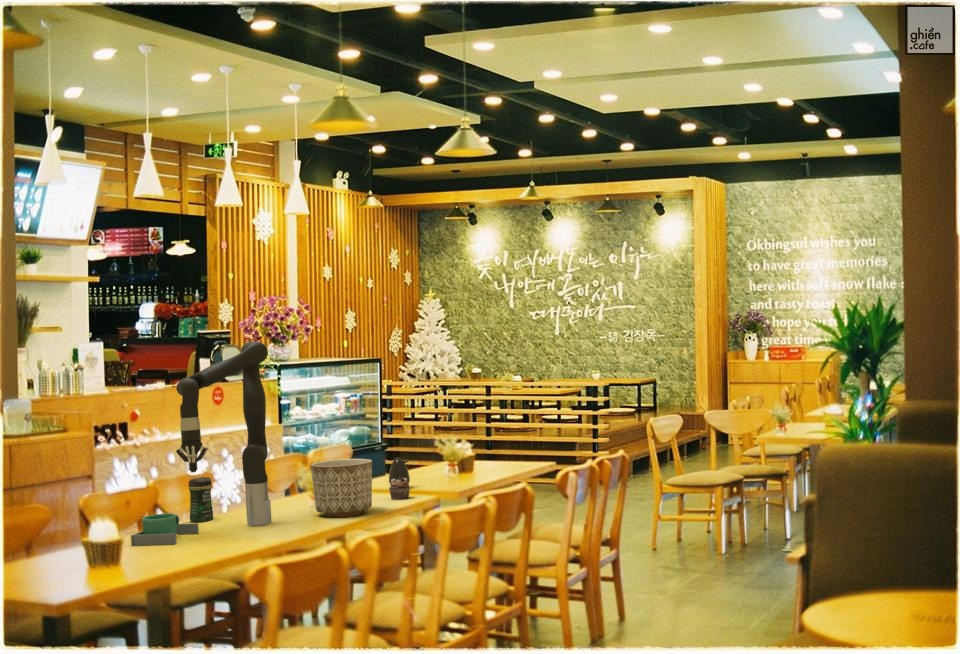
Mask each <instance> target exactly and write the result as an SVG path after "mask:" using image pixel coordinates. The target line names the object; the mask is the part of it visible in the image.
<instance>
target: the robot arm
mask: <svg viewBox="0 0 960 654" xmlns="http://www.w3.org/2000/svg"><path fill="white" fill-rule="evenodd" d="M268 355H269V351H268V347H267V346H266V345H265V344H264V343H262V342H260V341H246V342H245V343H244V344H243V345H242V346H241V349H240V353H238V354H236V355H234V356H232V357H230V358H227V359H226V358H225V359H224V360H222V361H219V362H217V363H216V362H215V363H214V364H212V365H209V366H208V367H206V368H204V369H202V370H200V371H199V372H196V373H194V374H190V375H189V376H186V377H184V378H182V379H180V380H179V381H178V382H177V384H176V388H175V389H176V392H177V394H178V395H180V396H182V397H181V400H182V401H181V404H180V406H179V414H180V415H179V416H180V421H179V422H180V425H179V426H180V428H179V429H180V437H181V438H180V439H181V444H180V447H179V448H178V449H176V450H175V453H176V454H177V455H178V456H179V457H180V459H182V461H183V462H186V463H188V470H189V471H190V473H196V472H197V471H198V462H200V461H202V460H203V458H204V456H205V455H206V453H207V452H208V450H209V448H208V447H205V446H204V445H203V443H202V436H201V435H202V434H201V423H200V422H201V421H200V416H199V398H200V390H201V389H204V388H207V387H211V386H212V385H214V384H216V383H218V382H220V381H222V380H223V379H225V378H227V377H229V376H231V375H233V374H234V373H237V372H238V371H242V410H243V417H244V421H245V425H246V429H247V444H246V445H247V446H246V447H245V448H244V449H243V451H242V455H241V460H242V461H241V462H242V474H243V478H244V487H245V508H246V522H247V523H246V524H247V526H250V527H257V526H267V525H270V524H271V523H272V522H273V521H272V505H271V504H272V503H271V499H270V497H269V495H270V494H269V481H268V479H269V478H268V477H269V476H268V474H267V470H266V460H267V459H268V454H269V453H268V451H269V450H268V444H267V437H266V423H267V422H266V419H267V414H266V413H267V411H266V410H267V407H266V406H267V403H266V400H267V399H266V392H265V389H264V385H263V382H262V379H261V375H260V374H261V373H260V369H261V368H260V365H261V364H262V363H263V362H265V361H266V359H267V357H268ZM199 451H200V453H199Z"/></svg>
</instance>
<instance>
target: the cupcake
mask: <svg viewBox="0 0 960 654" xmlns="http://www.w3.org/2000/svg"><path fill="white" fill-rule="evenodd" d="M391 482H392V483H391V486H389V489H388V490H389V494H390V499H391V501H403V500H404V501H405V500H408V499H409V496H410V489H411V488H410V482H409V483H408V482H407V478H405V477H403V478H401V477H397V479H396V478H395V477H394V478H393V479H392V480H391Z"/></svg>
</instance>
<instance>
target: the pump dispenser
mask: <svg viewBox="0 0 960 654" xmlns="http://www.w3.org/2000/svg"><path fill="white" fill-rule="evenodd" d="M409 461H410V459H409V458H407V459H402V458H401V457H396V458H395V459H393V460H392V463H391V466H390V468H389V473H388V483H389V485H390V486H391V483H392V482H391V480H392V479H393V478H394V477H395V478H396V479H397V477H401V478H403V477H405V478H407V482H408V483H409V484H410V481H411V477H410V473H409V470H408V467H407V465H406V463H408V462H409ZM390 486H389V487H390Z"/></svg>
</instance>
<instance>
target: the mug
mask: <svg viewBox="0 0 960 654" xmlns="http://www.w3.org/2000/svg"><path fill="white" fill-rule="evenodd" d="M178 524H180V517H179V516H178V515H177V514H174V513H160V514H152V515H147V516H143V517H142V530H143V534H176V529H177V526H178Z"/></svg>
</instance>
